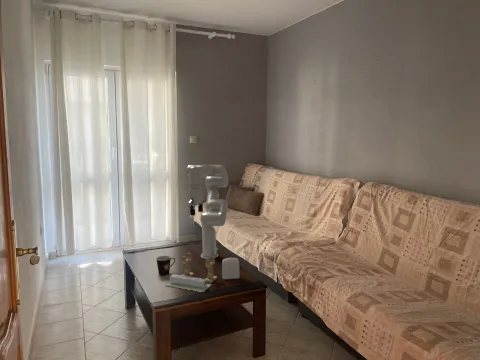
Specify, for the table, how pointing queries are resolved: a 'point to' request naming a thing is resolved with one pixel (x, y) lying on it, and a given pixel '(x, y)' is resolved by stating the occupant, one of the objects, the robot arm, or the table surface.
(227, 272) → the photo printer
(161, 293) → the table surface
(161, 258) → the coffee mug
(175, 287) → the sage mat
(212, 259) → the forked stand
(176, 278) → the steel bar
